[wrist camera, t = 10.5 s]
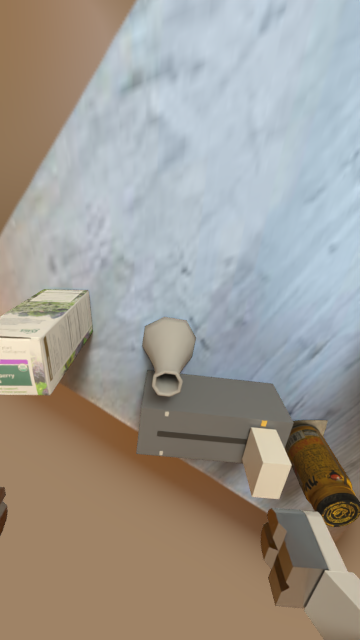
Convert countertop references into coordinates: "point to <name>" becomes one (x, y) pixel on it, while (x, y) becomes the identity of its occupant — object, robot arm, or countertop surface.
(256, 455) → the fader
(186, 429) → the console
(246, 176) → the countertop surface
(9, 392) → the syrup box
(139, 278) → the countertop surface
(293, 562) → the robot arm
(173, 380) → the flask
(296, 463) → the condiment
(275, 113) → the countertop surface
